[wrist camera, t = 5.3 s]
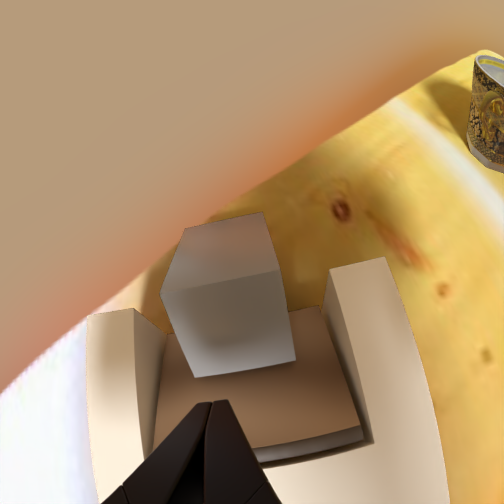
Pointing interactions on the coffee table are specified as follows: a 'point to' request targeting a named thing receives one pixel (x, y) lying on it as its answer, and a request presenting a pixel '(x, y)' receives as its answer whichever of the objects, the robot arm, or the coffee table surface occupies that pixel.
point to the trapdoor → (271, 395)
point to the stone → (228, 298)
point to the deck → (305, 466)
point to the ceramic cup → (487, 112)
